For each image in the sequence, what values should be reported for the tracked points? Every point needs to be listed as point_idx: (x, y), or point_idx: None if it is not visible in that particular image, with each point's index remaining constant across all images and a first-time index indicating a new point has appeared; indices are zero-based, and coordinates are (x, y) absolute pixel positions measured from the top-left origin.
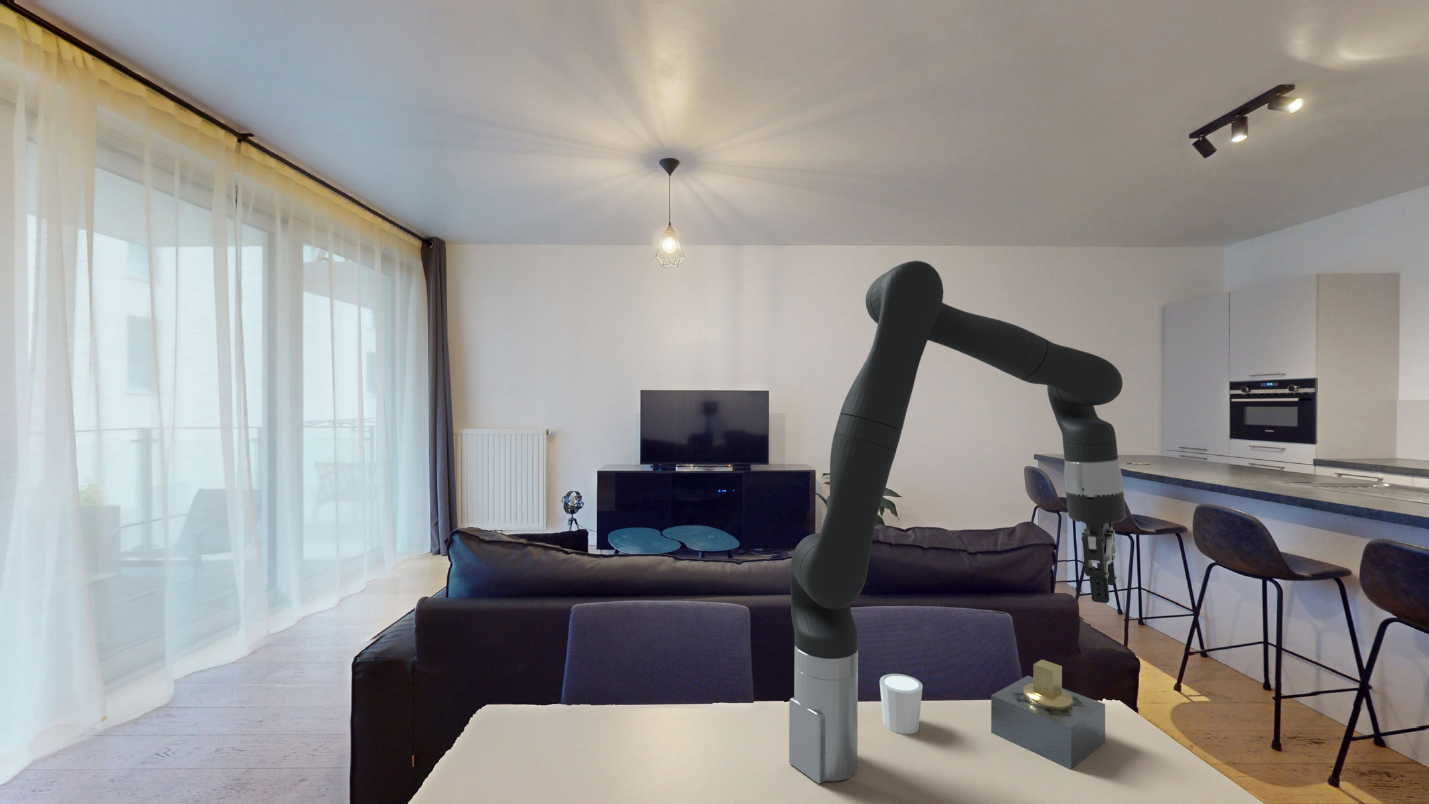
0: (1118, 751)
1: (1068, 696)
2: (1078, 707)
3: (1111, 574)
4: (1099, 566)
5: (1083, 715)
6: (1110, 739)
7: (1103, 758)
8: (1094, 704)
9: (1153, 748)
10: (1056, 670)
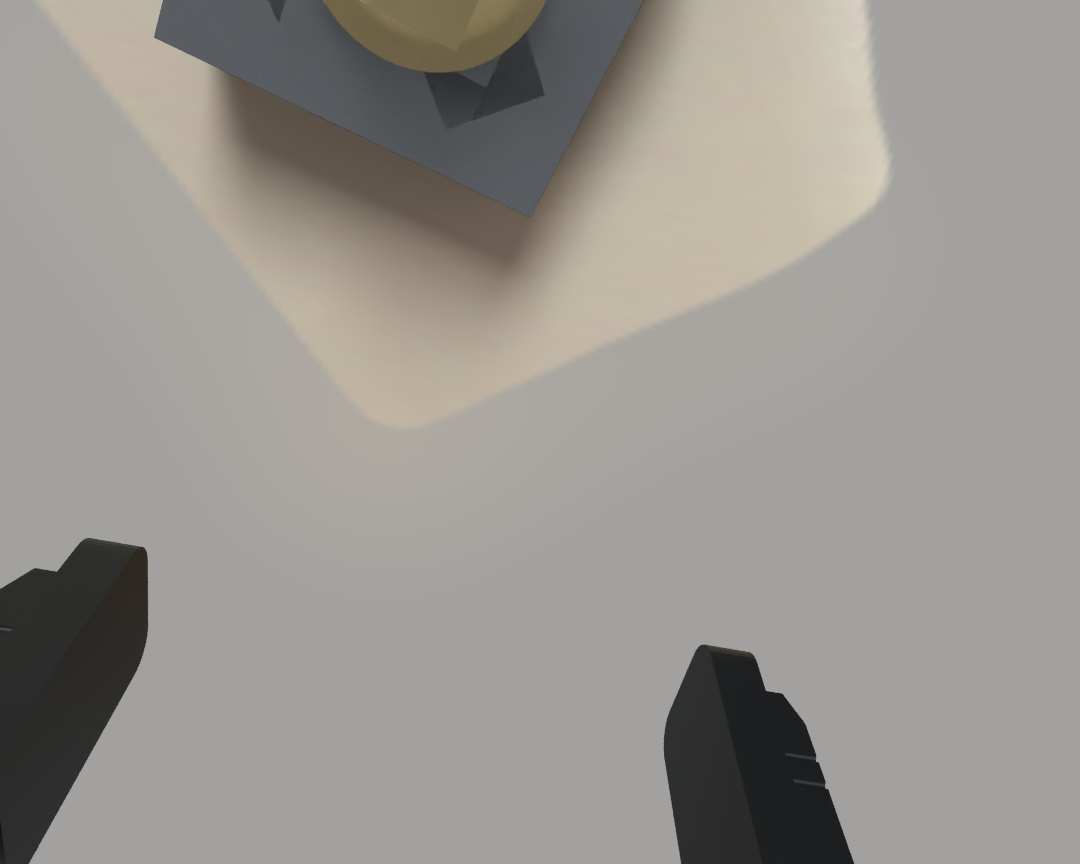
0: (473, 199)
1: (452, 54)
2: (421, 93)
3: (685, 816)
4: (734, 822)
5: (343, 109)
6: (558, 182)
7: None
8: (500, 170)
9: (558, 311)
10: (383, 10)
